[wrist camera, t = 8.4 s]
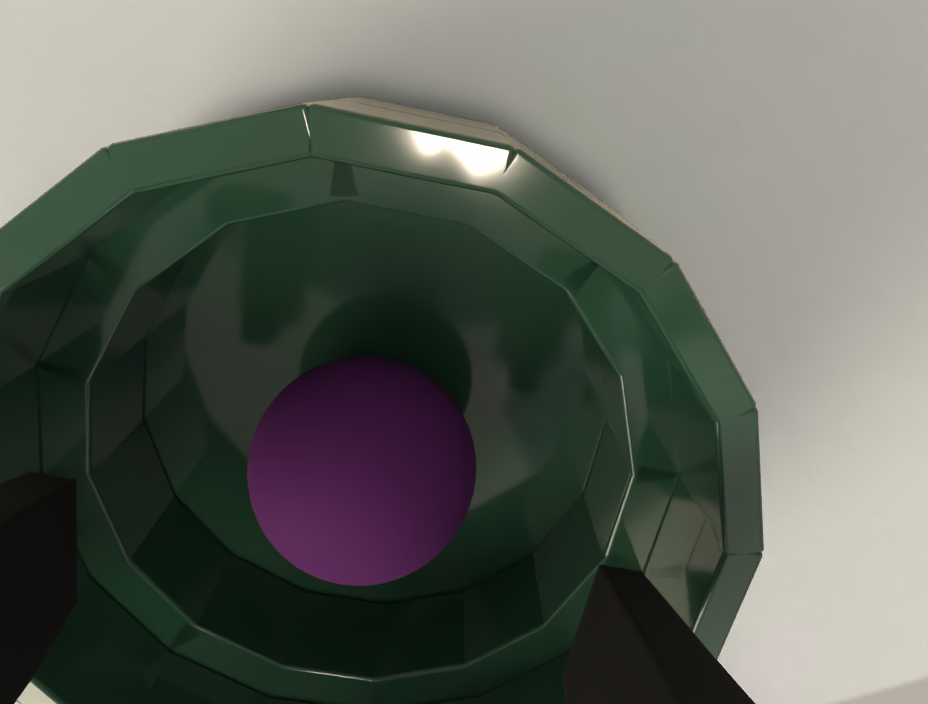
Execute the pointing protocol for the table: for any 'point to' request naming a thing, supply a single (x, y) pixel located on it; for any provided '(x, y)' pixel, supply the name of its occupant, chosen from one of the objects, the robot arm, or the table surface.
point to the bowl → (347, 335)
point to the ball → (361, 470)
